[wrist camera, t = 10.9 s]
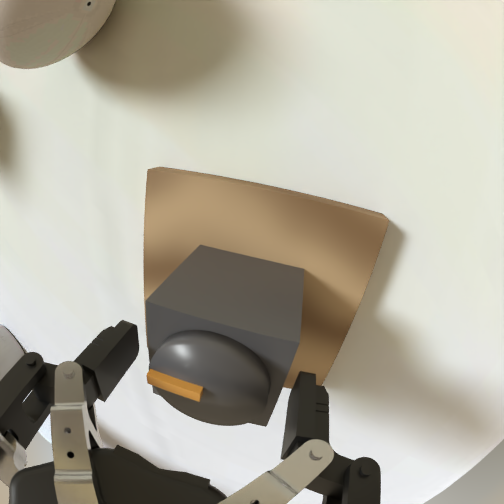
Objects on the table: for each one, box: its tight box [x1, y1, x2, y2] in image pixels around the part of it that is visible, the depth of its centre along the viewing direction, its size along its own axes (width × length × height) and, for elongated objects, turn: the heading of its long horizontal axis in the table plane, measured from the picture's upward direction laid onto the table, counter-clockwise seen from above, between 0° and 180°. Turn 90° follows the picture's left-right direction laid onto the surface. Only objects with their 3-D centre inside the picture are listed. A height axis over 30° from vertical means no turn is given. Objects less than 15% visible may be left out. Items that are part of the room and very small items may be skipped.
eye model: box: [0, 0, 115, 69], centre depth 8 cm, size 10×10×10 cm
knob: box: [145, 245, 304, 426], centre depth 14 cm, size 6×6×8 cm
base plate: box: [144, 167, 389, 389], centre depth 18 cm, size 14×14×2 cm
